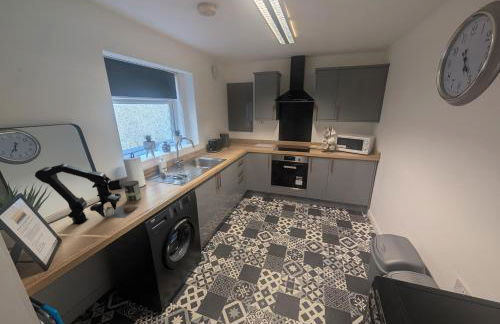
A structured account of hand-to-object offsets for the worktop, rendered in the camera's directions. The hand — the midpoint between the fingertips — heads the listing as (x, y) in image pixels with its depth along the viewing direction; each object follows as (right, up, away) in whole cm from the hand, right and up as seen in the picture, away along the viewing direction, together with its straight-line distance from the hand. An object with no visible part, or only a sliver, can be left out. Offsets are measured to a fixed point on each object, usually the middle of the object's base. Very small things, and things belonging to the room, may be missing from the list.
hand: (109, 213), depth 127 cm
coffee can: (+3, +5, +23) cm, 23 cm away
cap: (0, -1, 0) cm, 2 cm away
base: (+10, +1, +6) cm, 12 cm away
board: (+5, -1, +4) cm, 7 cm away
